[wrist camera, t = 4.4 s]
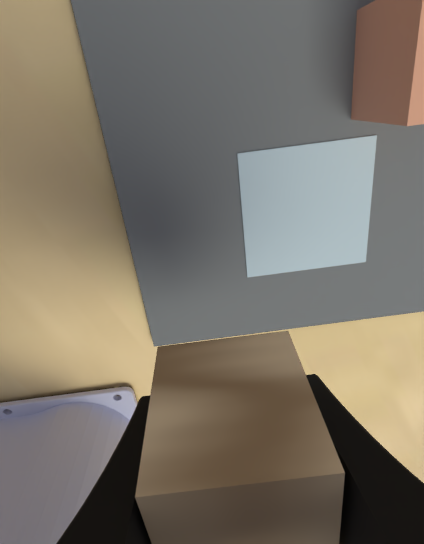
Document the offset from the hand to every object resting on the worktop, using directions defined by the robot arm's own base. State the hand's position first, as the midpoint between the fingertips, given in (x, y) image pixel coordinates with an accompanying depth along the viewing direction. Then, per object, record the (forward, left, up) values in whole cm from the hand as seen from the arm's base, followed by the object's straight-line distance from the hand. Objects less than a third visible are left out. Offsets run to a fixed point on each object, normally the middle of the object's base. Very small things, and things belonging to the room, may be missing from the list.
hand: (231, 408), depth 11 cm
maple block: (0, 0, -1) cm, 1 cm away
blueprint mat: (+5, +5, -9) cm, 11 cm away
